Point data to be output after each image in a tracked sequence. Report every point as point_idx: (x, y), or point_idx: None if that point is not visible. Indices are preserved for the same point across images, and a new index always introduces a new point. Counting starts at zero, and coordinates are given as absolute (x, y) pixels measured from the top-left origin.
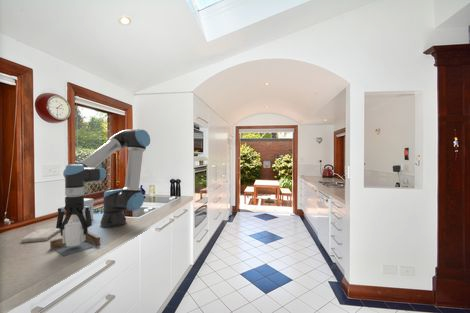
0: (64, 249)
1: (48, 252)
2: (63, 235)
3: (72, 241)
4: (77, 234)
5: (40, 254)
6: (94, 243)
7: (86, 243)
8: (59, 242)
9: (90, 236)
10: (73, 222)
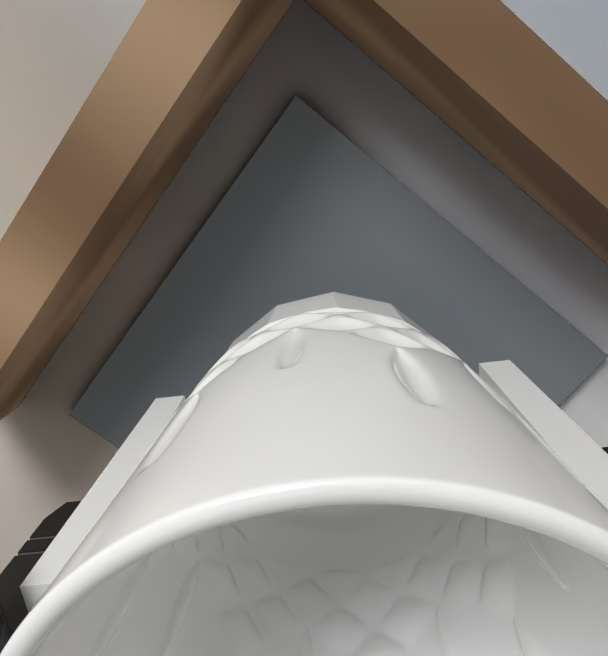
0: None
1: (70, 492)
2: None
3: (385, 564)
4: (500, 643)
5: (22, 541)
6: (584, 238)
7: (427, 216)
8: (30, 356)
9: (479, 112)
10: (102, 582)
